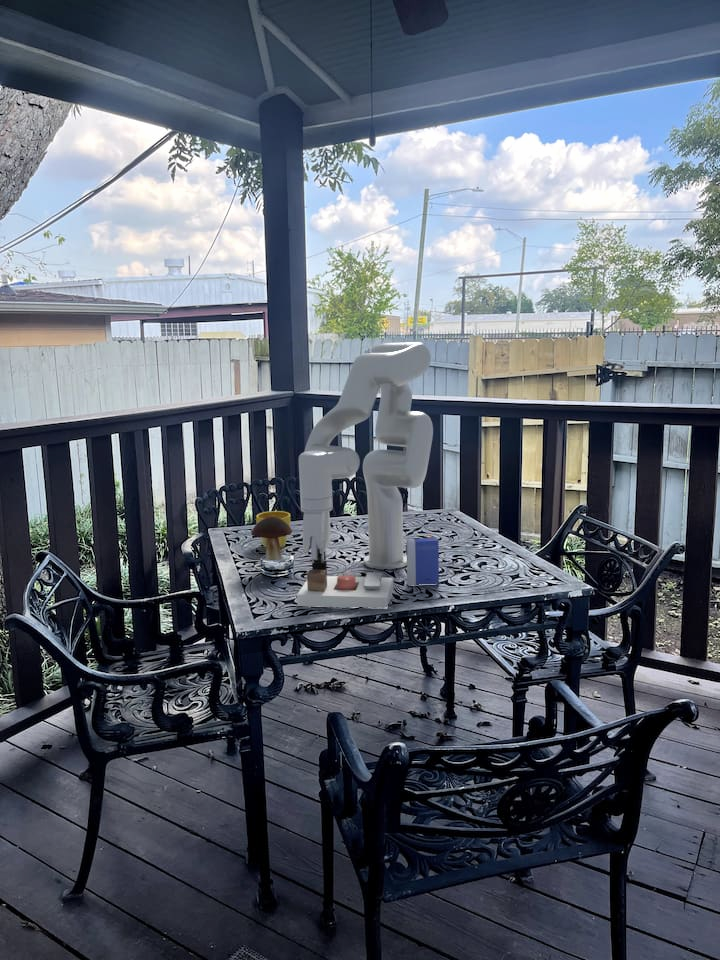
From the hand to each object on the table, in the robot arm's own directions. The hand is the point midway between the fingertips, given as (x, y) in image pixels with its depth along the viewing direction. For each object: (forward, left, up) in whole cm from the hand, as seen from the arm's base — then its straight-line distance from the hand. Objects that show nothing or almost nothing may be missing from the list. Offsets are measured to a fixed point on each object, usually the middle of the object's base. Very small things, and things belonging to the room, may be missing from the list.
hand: (320, 577), depth 158 cm
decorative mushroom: (-17, -17, -5) cm, 25 cm away
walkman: (-9, +24, -5) cm, 26 cm away
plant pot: (-39, -23, -5) cm, 46 cm away
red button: (+1, +7, -2) cm, 7 cm away
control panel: (+1, +7, -5) cm, 8 cm away
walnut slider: (+4, 0, -2) cm, 4 cm away
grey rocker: (+1, +13, -1) cm, 13 cm away
